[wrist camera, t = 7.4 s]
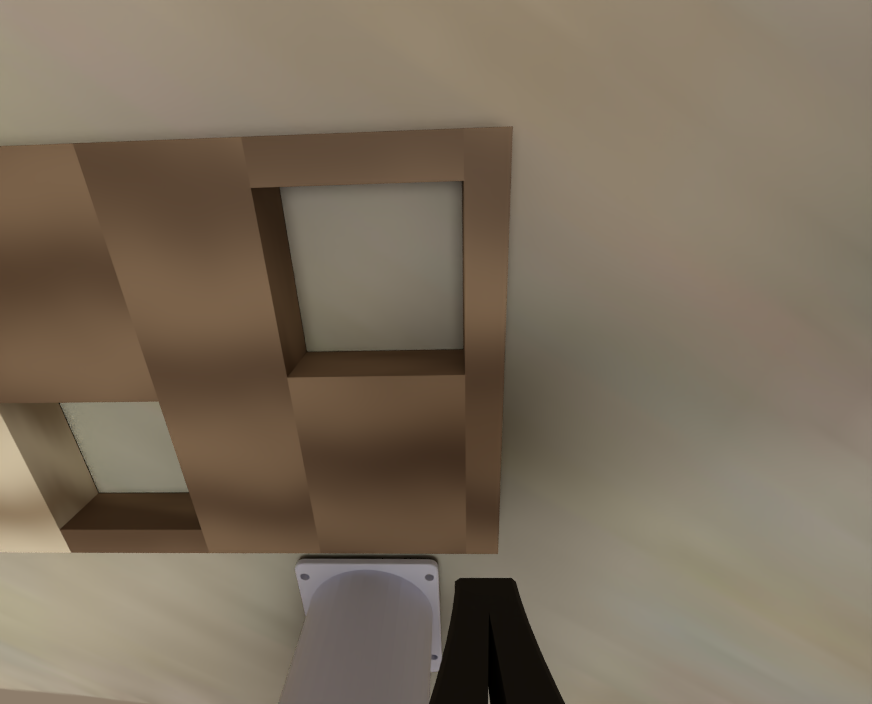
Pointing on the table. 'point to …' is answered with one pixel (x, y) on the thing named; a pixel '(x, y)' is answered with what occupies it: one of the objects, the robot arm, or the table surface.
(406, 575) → the robot arm
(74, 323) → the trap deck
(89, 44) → the table surface
